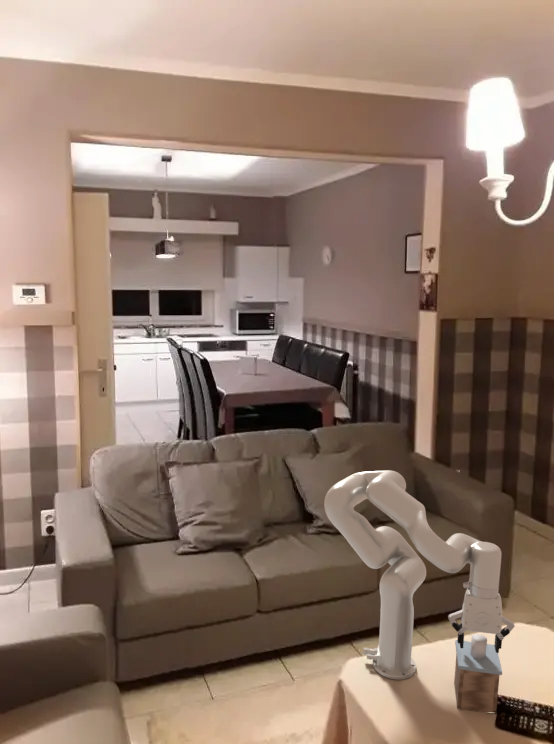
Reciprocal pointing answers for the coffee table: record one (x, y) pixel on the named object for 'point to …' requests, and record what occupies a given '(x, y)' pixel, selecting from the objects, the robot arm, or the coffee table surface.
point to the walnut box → (476, 690)
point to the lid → (478, 656)
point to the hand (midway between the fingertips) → (478, 647)
